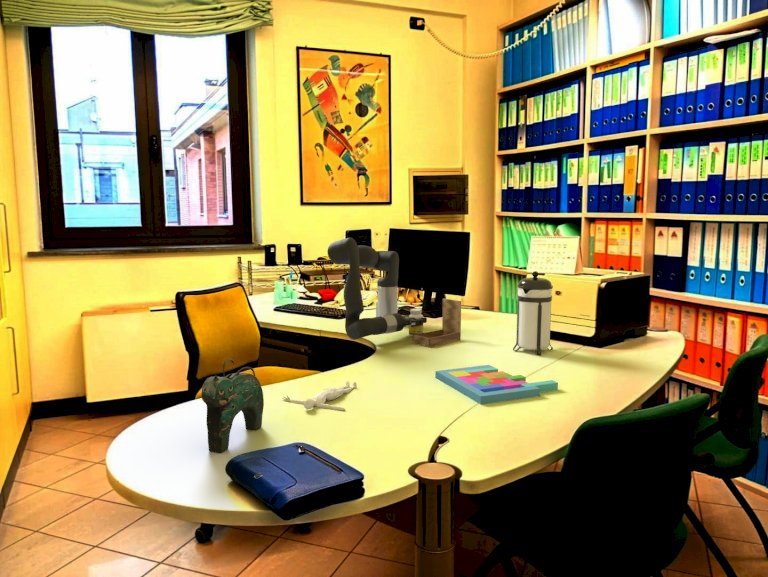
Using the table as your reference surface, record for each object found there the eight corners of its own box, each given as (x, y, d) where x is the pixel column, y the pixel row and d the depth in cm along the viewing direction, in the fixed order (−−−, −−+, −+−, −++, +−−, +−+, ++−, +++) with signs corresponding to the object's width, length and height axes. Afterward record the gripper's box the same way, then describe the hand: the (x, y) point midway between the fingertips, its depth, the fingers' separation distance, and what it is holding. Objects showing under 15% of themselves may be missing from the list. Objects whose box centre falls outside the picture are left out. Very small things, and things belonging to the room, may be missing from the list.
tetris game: (480, 406, 171) (563, 394, 182) (480, 396, 171) (564, 385, 181) (435, 379, 197) (510, 370, 207) (435, 370, 197) (510, 362, 207)
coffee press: (561, 355, 225) (564, 273, 221) (517, 355, 225) (519, 273, 221) (548, 344, 242) (551, 268, 238) (507, 344, 242) (509, 268, 238)
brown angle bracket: (412, 343, 245) (412, 303, 243) (443, 336, 257) (444, 298, 255) (429, 347, 238) (429, 306, 236) (460, 340, 250) (461, 301, 248)
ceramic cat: (220, 457, 136) (217, 369, 133) (196, 453, 138) (192, 366, 136) (269, 427, 154) (266, 348, 152) (247, 423, 157) (244, 346, 154)
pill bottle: (412, 333, 263) (413, 307, 262) (425, 334, 260) (426, 309, 259) (405, 336, 258) (405, 309, 257) (419, 337, 255) (419, 311, 253)
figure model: (378, 383, 183) (335, 403, 161) (378, 395, 184) (335, 418, 161) (319, 375, 193) (270, 393, 170) (319, 387, 193) (270, 407, 171)
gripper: (402, 316, 243) (431, 311, 254) (378, 312, 254) (407, 307, 264) (402, 335, 244) (431, 329, 255) (378, 329, 255) (407, 324, 265)
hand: (418, 318), depth 259 cm, fingers open, 8 cm apart
